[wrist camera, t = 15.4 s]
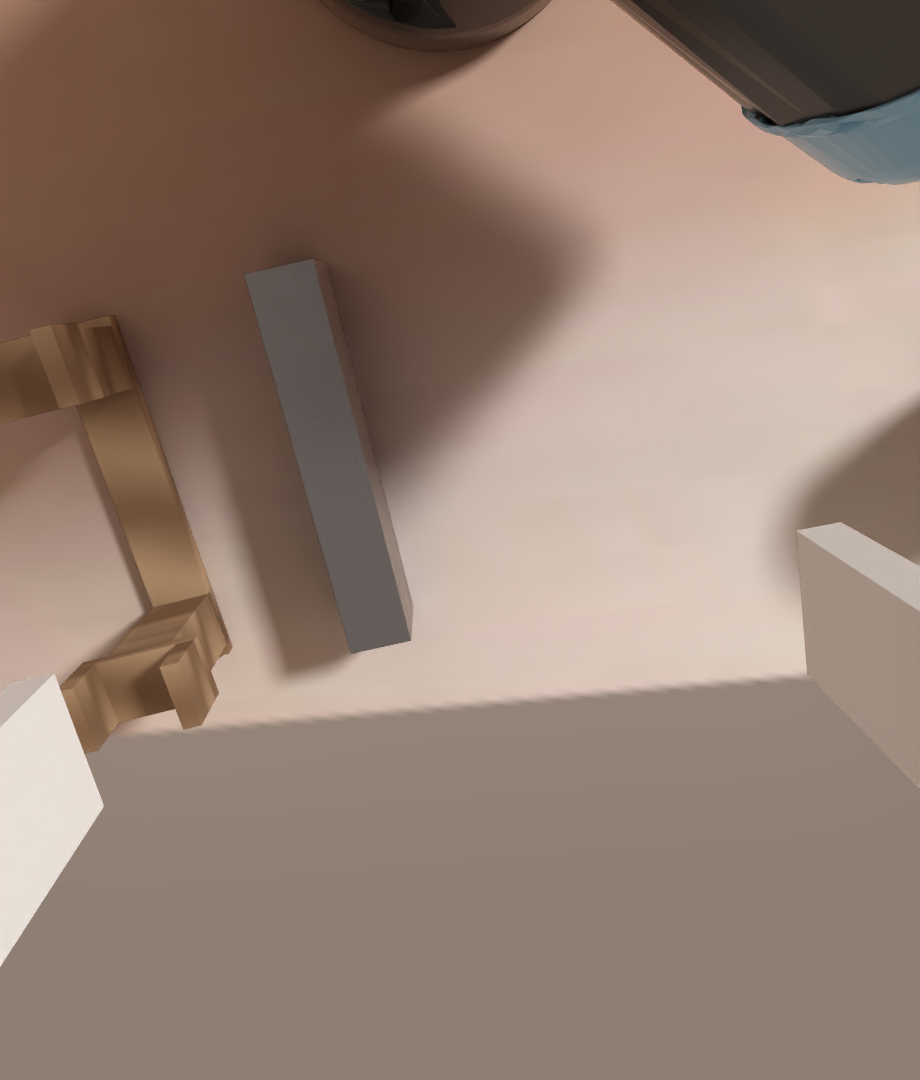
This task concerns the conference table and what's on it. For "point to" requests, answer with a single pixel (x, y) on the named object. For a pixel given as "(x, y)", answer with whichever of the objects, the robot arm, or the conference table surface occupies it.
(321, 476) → the rail
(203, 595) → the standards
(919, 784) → the robot arm
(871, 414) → the conference table surface
